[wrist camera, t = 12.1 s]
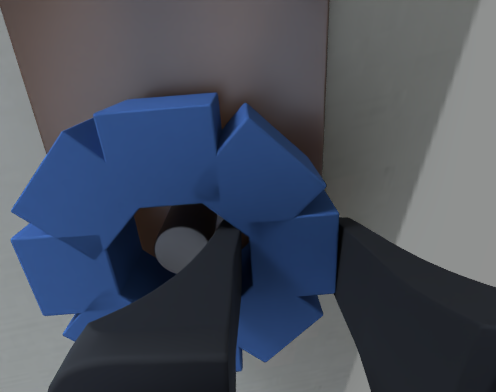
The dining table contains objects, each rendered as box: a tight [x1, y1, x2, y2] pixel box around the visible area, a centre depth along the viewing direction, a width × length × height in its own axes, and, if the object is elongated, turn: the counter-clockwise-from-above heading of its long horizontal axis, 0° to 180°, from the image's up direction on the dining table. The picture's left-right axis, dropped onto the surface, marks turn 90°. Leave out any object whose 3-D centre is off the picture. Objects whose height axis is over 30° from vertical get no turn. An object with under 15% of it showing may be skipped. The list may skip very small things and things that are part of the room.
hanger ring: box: [11, 92, 339, 372], centre depth 12 cm, size 10×10×3 cm
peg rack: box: [0, 0, 330, 274], centre depth 10 cm, size 11×20×4 cm, turn 3°
